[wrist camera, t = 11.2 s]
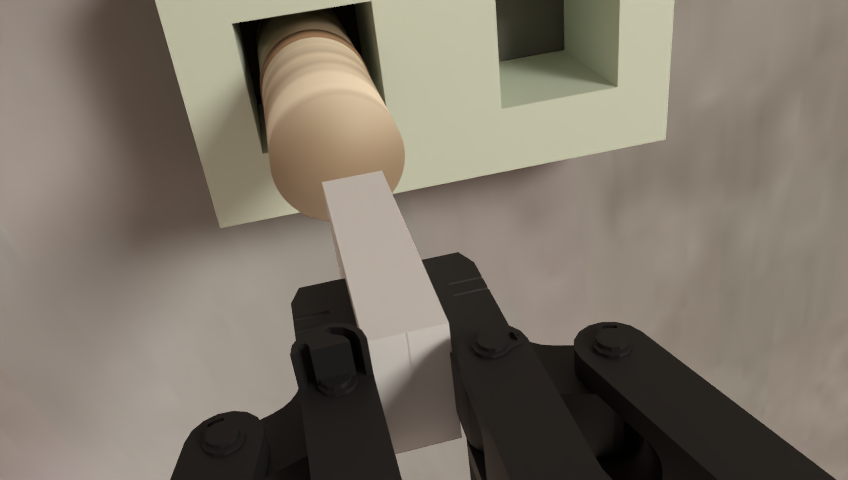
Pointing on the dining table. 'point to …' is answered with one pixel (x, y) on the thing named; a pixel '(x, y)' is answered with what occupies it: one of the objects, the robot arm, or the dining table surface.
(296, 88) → the dowel
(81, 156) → the dining table surface
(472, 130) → the pale green holed block
